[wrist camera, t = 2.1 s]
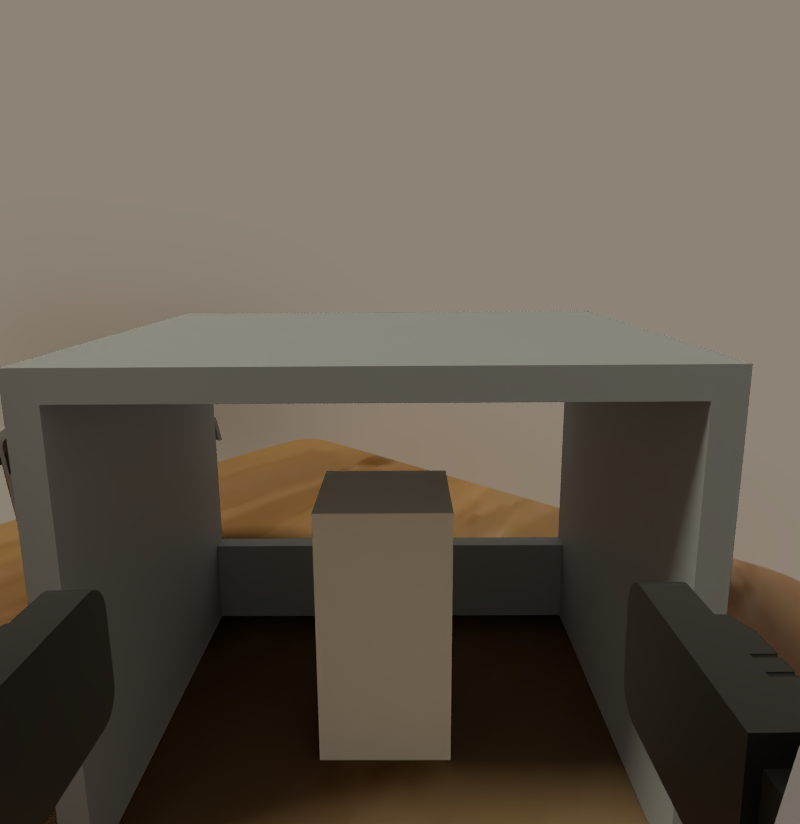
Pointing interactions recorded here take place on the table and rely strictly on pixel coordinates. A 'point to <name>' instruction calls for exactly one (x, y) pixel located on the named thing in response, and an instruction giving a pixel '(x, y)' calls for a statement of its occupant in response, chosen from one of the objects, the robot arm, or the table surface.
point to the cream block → (383, 614)
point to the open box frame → (293, 558)
